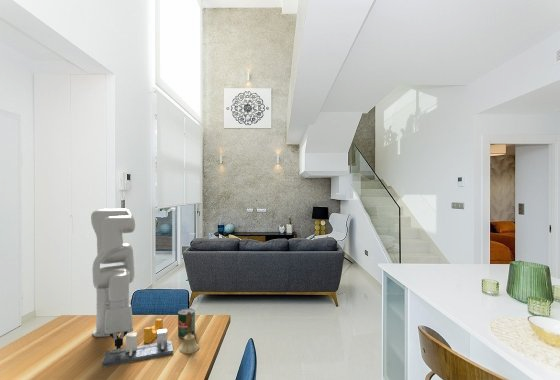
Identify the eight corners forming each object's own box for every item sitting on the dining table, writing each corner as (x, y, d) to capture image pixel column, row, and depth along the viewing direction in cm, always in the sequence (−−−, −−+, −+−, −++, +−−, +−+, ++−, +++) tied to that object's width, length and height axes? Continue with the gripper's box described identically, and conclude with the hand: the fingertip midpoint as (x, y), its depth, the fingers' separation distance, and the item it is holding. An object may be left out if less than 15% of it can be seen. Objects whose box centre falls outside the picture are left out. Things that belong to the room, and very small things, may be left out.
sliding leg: (126, 348, 134) (126, 333, 134) (136, 346, 135) (136, 332, 135) (125, 357, 126) (125, 342, 126) (136, 355, 127) (136, 340, 128)
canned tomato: (194, 330, 156) (194, 307, 157) (195, 336, 149) (195, 313, 149) (177, 332, 154) (177, 309, 154) (177, 339, 146) (177, 315, 147)
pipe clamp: (154, 331, 155) (154, 318, 155) (162, 332, 154) (162, 318, 154) (140, 342, 143) (140, 328, 143) (149, 343, 142) (149, 329, 143)
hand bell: (180, 355, 131) (181, 316, 132) (178, 347, 139) (178, 310, 139) (201, 351, 135) (201, 313, 135) (197, 343, 142) (197, 307, 143)
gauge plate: (105, 355, 132) (105, 337, 132) (171, 343, 142) (171, 326, 142) (102, 367, 122) (102, 347, 123) (172, 354, 132) (173, 336, 133)
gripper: (97, 308, 125) (96, 355, 125) (138, 303, 131) (138, 348, 130) (99, 302, 132) (99, 347, 131) (139, 298, 138) (138, 340, 137)
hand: (118, 347), depth 131 cm, fingers closed
